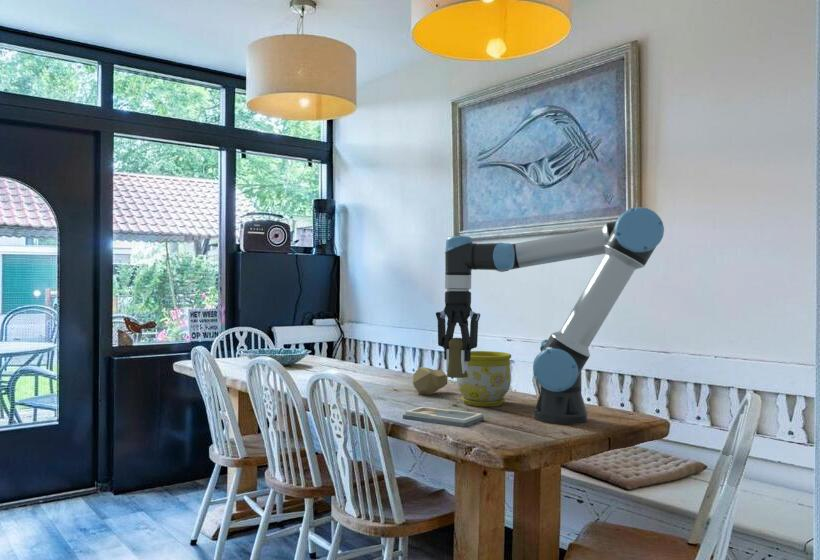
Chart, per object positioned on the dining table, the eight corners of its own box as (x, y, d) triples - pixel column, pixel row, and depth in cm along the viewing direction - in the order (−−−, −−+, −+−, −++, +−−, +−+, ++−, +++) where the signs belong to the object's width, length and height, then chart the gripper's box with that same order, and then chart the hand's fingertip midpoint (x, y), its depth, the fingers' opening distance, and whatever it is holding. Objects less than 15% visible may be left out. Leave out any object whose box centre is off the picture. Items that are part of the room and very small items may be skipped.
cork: (466, 378, 179) (466, 339, 180) (445, 377, 181) (445, 338, 181) (468, 375, 185) (469, 337, 185) (448, 374, 187) (448, 336, 187)
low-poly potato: (412, 398, 222) (441, 384, 219) (402, 369, 226) (430, 355, 224) (427, 403, 235) (455, 390, 232) (417, 376, 240) (444, 363, 237)
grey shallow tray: (483, 419, 185) (483, 413, 185) (463, 427, 175) (463, 420, 175) (424, 411, 196) (424, 405, 196) (402, 418, 186) (402, 412, 186)
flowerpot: (468, 396, 224) (469, 349, 224) (518, 401, 215) (518, 352, 215) (447, 404, 208) (447, 354, 208) (499, 410, 199) (500, 357, 199)
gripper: (490, 290, 182) (489, 373, 181) (438, 290, 191) (437, 368, 191) (478, 290, 175) (477, 376, 175) (425, 289, 185) (424, 371, 184)
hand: (457, 372), depth 183 cm, fingers closed on cork, 4 cm apart
